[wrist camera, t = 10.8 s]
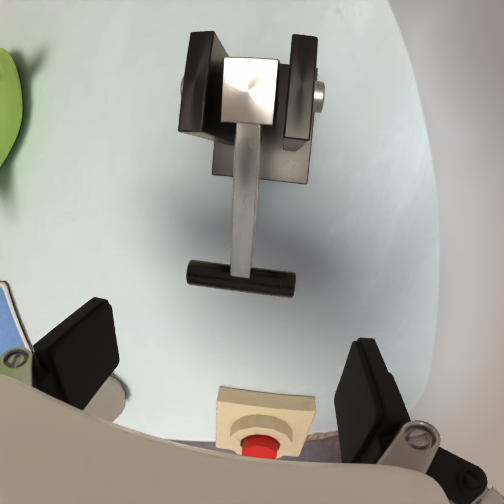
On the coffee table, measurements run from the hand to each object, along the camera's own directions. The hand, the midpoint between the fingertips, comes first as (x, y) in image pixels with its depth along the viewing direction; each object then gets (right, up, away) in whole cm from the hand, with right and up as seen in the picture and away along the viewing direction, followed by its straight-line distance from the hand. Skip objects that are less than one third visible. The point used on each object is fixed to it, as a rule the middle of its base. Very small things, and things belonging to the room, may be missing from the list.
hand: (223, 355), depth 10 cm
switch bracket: (+2, +14, +10) cm, 17 cm away
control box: (+2, -15, +19) cm, 25 cm away
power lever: (+1, +7, +4) cm, 9 cm away
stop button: (+2, -16, +16) cm, 23 cm away
